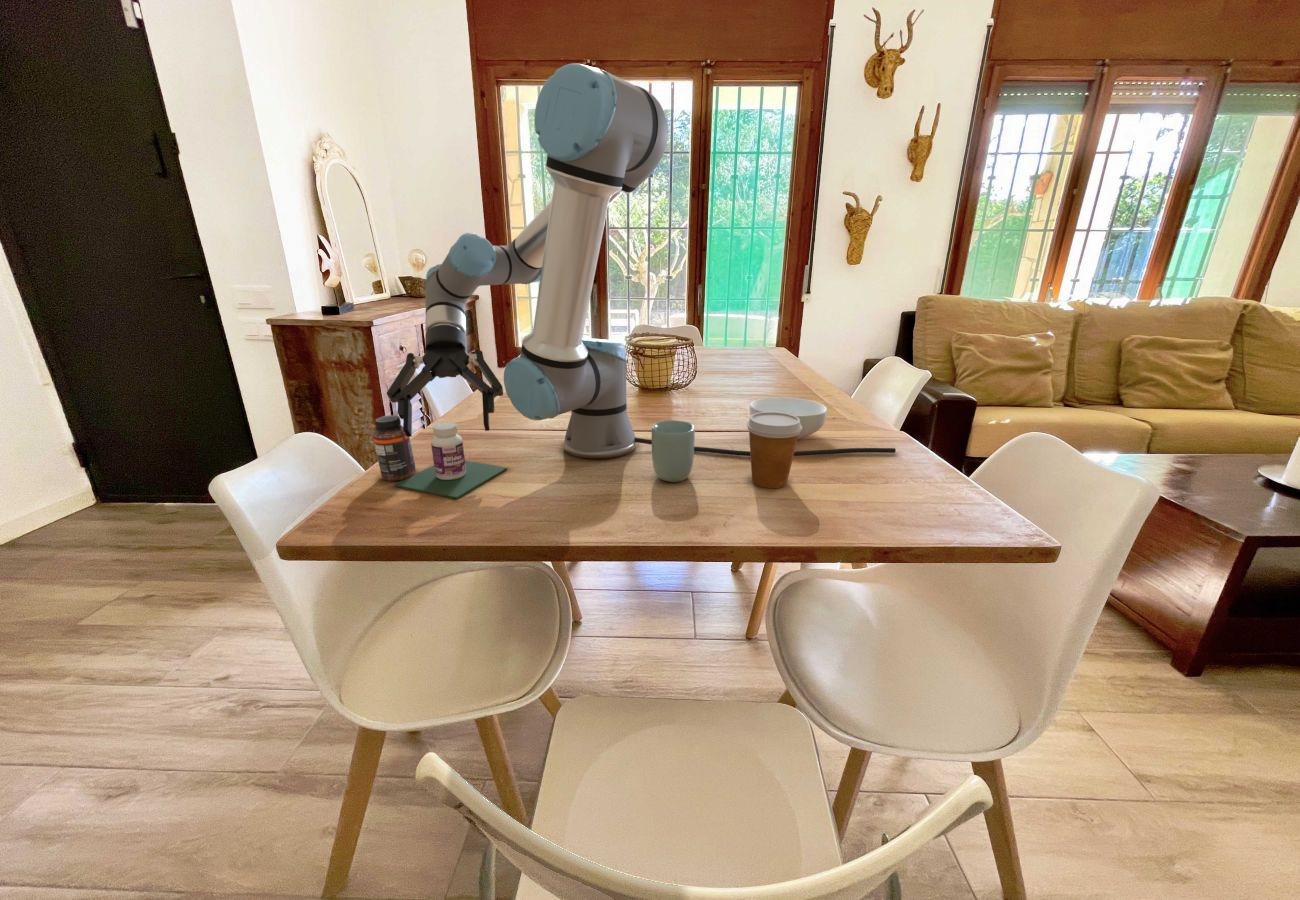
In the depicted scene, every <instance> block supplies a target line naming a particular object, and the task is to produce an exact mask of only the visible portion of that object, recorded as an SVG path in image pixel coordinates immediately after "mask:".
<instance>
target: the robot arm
mask: <svg viewBox="0 0 1300 900" xmlns="http://www.w3.org/2000/svg"><path fill="white" fill-rule="evenodd" d="M533 120H534V121H533V122H534V130H535V133H536V135H538V138H537V141H538V143H539V146H540V147H541V148H542V150H543V151H544V152H545V153H546V154H547V155H546V162H545V169H546V171H547V173H548V174H549V176H550V177H551V180H552V182H553V187H552V195H551V200H550V201H549V202H548V203H547V204H546V205H545V206H544V207H543V209H541V211H540V212H538V214H537V215H536V216H535V217H534V218H533V219H532V220H531V221H530V222H529V223H528V224H527V226H525V227H524V228H523V230H522V231H521V232H520V233H519V234H518V235H517V236H516V237H515V238H514V239H513V240H512V241H511V242H510V243H509V244H507V245H493V244H492V243H491V242H490V241H489V240H488V239H487V238H486V237H484V236H482V235H481V236H480V235H478V234H477V233H475V232H465V233H463V234H462V235H460V236H459V237H458V238H457V240H456V241H455V243H454V244H453V245H452V246H451V247H450V249H449V251H448V253H447V254H446V256H445V258H444V259H443V262H442V263H439V264H436V265H435V266H431V267H430V268H429V269H428V270H427V272H426V276H425V281H424V292H425V295H424V296H425V320H424V321H425V328H424V329H425V330H424V331H425V336H424V337H425V338H424V343H425V344H424V345H425V347H424V348H425V351H424V354H423V355H422V356H421V355H420V356H419V355H415V354H414V353H413V352H409V353H408V354H406V360H405V364H404V365H403V367H402V368H401V369H400V371H399V373H398V374H397V376H396V377H395V378H394V380H393V382H392V384H391V385H390V387H389V388H388V390H387V391H386V396H387V398H388V400H389V401H390V402H391V403H397V416H399V417H400V420H403V421H402V422H403V423H402V426H403V430H404V432H405V434H406V436H407V437H411V438H412V436H413V435H412V433H413V431H412V429H413V404H412V402H411V400H413V398H414V397H416V395H418V394H419V393H420V392H421V390H423V388H424V387H425V386H427V384H429V383H430V382H432V381H433V380H435V379H436V378H437V377H438V378H439V379H444V378H457V376H460V377H462V378H463V379H464V380H466V381H467V382H468V383H470V385H472V386H473V387H474V388H475V389H476V390H478V391H479V392H480V393H481V397H482V415H483V427H484V431H485V432H489V431H490V430H491V429H490V414H494V413H495V411H496V410H495V398H496V397H502V396H504V389H505V393H506V395H507V397H508V399H509V400H510V402H511V404H512V406H513V407H514V409H516V411H517V412H518V413H519V414H521V415H522V416H524V417H525V418H526V419H529V420H532V421H543V420H547V419H554V418H556V417H558V416H559V415H563V414H566V413H569V412H571V413H570V417H569V420H568V421H569V422H568V425H567V428H566V432H565V436H564V450H565V451H566V453H568V454H570V455H572V456H574V457H577V458H582V459H588V460H589V459H590V460H606V459H613V458H618V457H622V456H625V455H627V454H630V453H631V452H632V451H634V450H635V449H636V446H637V443H640V444H645V445H651V446H652V439H648V438H644V437H643V438H642V437H637V436H636V434H635V431H634V429H633V426H632V423H631V420H630V417H629V415H628V409H627V406H628V405H627V404H628V403H627V401H628V400H627V399H628V398H627V363H628V360H627V358H626V357H627V356H626V355H627V353H626V347H625V345H624V344H623V342H621V341H619V340H613V339H602V338H589V337H588V338H587V337H583V336H584V331H585V327H586V321H587V317H588V311H589V305H590V300H591V296H592V291H593V285H594V280H595V276H596V270H597V265H598V260H599V255H600V249H601V245H602V239H603V234H604V230H605V229H604V228H605V223H606V219H607V214H608V208H609V206H610V205H611V204H612V203H613V202H615V200H616V199H618V198H619V197H620V196H621V195H622V194H627V195H628V194H629V195H630V194H632V193H633V192H634V191H635V190H636V189H638V187H639V186H641V185H642V184H643V183H644V182H645V181H646V180H647V179H648V178H649V177H650V176H651V175H652V173H653V172H654V171H655V170H656V169H657V167H658V166H659V164H660V162H661V161H662V158H663V156H664V155H665V152H666V149H667V145H668V139H669V128H668V126H669V125H668V121H667V116H666V113H665V110H664V108H663V107H662V104H661V103H660V101H659V100H658V99H657V97H655V96H654V95H653V94H652V93H651V92H650V91H648V90H647V89H645V88H644V87H641V86H638V85H636V84H633V83H631V82H629V81H627V80H625V79H622V78H620V77H619V76H616V75H614V74H612V73H610V72H607V71H605V70H604V69H601V68H599V67H597V66H596V67H594V66H590V65H586V64H583V63H576V62H575V63H568V64H565V65H563V66H560V67H559V68H558V69H556V70H555V72H554V73H553V75H550V76H549V77H548V78H547V79H546V81H545V83H544V84H543V86H542V87H541V89H540V92H539V94H538V97H537V100H536V104H535V108H534V119H533ZM538 282H539V284H538V285H539V286H538V292H537V300H536V305H535V314H534V319H533V328H532V331H531V332H530V333H528V334H527V335H525V336H524V337H523V338H522V341H521V348H520V354H519V355H520V356H518V357H517V356H516V357H513V358H512V359H511V360H510V361H509V362H507V363H506V364H505V366H504V370H503V384H504V388H503V385H502V384H501V382H500V381H499V379H498V377H497V376H496V375H495V373H494V371H493V370H492V369H491V367H490V366H489V365H488V363H487V362H486V360H485V357H484V353H483V350H480V349H478V350H476V352H475V353H471V354H469V353H468V345H467V343H468V342H467V321H466V305H467V302H468V300H469V299H470V298H471V297H472V295H473V294H474V293H475V291H476V290H477V289H478V287H481V286H482V287H483V286H498V285H500V286H501V285H529V284H533V283H538ZM471 362H472V363H473V365H475V366H476V367H478V368H479V370H480V372H481V373H482V375H483V376H484V377H485V379H486V380H487V382H488V383H489V385H488V384H487V383H486V382H485V381H484V380H482V378H481V377H479V376H478V374H476V373H475V372H474V371H472V370H471V369H470V368H469V366H468V365H469V364H470V363H471ZM423 364H424V366H423V367H422V368H421V371H420V372H419V373H418V374H417V375H416V376H415V377H414V378H413V376H414V375H415V373H416V371H417V369H419V368H420V366H421V365H423ZM412 378H413V379H412ZM411 379H412V380H411ZM896 450H897V449H896V448H895V447H847V448H846V447H845V448H830V449H828V448H827V449H813V450H812V449H811V450H795V452H794V456H793V457H805V456H806V457H808V456H822V455H823V456H824V455H838V454H861V453H864V454H865V453H867V454H868V453H869V454H870V453H871V454H875V453H877V454H882V453H883V454H896ZM694 452H697V453H711V454H719V455H730V456H739V457H740V456H743V457H751V455H750V450H737V449H726V448H717V447H704V446H695V445H694Z"/></svg>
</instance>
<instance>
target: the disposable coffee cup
mask: <svg viewBox="0 0 1300 900" xmlns="http://www.w3.org/2000/svg"><path fill="white" fill-rule="evenodd" d="M746 427H747V430H748V435H749V451H750V455H751V456H750V470H751V481H752V483H753V484H754V485H756V486H758V487H762V488H766V489H779V488H783V487H785V486H787V484H788V480H789V477H790V473H791V468H792V464H793V459H794V457H795V456H794V452H795V451H796V447H797V443H798V440H799V439H798V435H799V433H800V431H801V430H802V426H801V424H800V419H799V418H798V417H796V416H794V415H791V414H787V413H781V412H759V413H755V414H752V415H751V416H750V415H749V420H748V421H747V422H746Z"/></svg>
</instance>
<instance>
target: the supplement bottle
mask: <svg viewBox="0 0 1300 900" xmlns="http://www.w3.org/2000/svg"><path fill="white" fill-rule="evenodd" d="M374 422H375V426H376V428H377V429H376V430H375V431H374V432H373V433H372V440H373V443H374V448H375V453H376V457H377V462H378V466H379V471H380V475H381V478H382V479H383V480H384V481H388V482H396V481H398V482H399V481H403V480H405V479H407V478H409V477H411V476H413V475H415V474H416V472H417V469H416V463H415V458H414V453H413V448H412V443H411V438H410V437H407V436H406V434H405V432H404V430H403V424H401V423H402V422H401V418H400V417H399V415H396V414H395V415H394V414H391V415H383V416H380V417H377V418H376V419H375V421H374Z"/></svg>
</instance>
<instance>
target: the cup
mask: <svg viewBox="0 0 1300 900" xmlns="http://www.w3.org/2000/svg"><path fill="white" fill-rule="evenodd" d="M695 439H696V429H695V425H694V424H693V423H691V422H689V421H684V420H674V419H673V420H670V419H669V420H661V421H656V422H655V423H653V425H652V427H651V440H652V445H651V462H652V468H653V471H654V473H655V475H656V477H657V478H658V479H660V480H661V481H664V482H667V483H678V482H679V483H680V482H682V481H684V480H686V479H687V478H688V477H689V476H690V474H691V472H692V470H693V466H694V465H693V464H694V460H695V459H694V458H695V451H694V446H695V442H696V441H695Z"/></svg>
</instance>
